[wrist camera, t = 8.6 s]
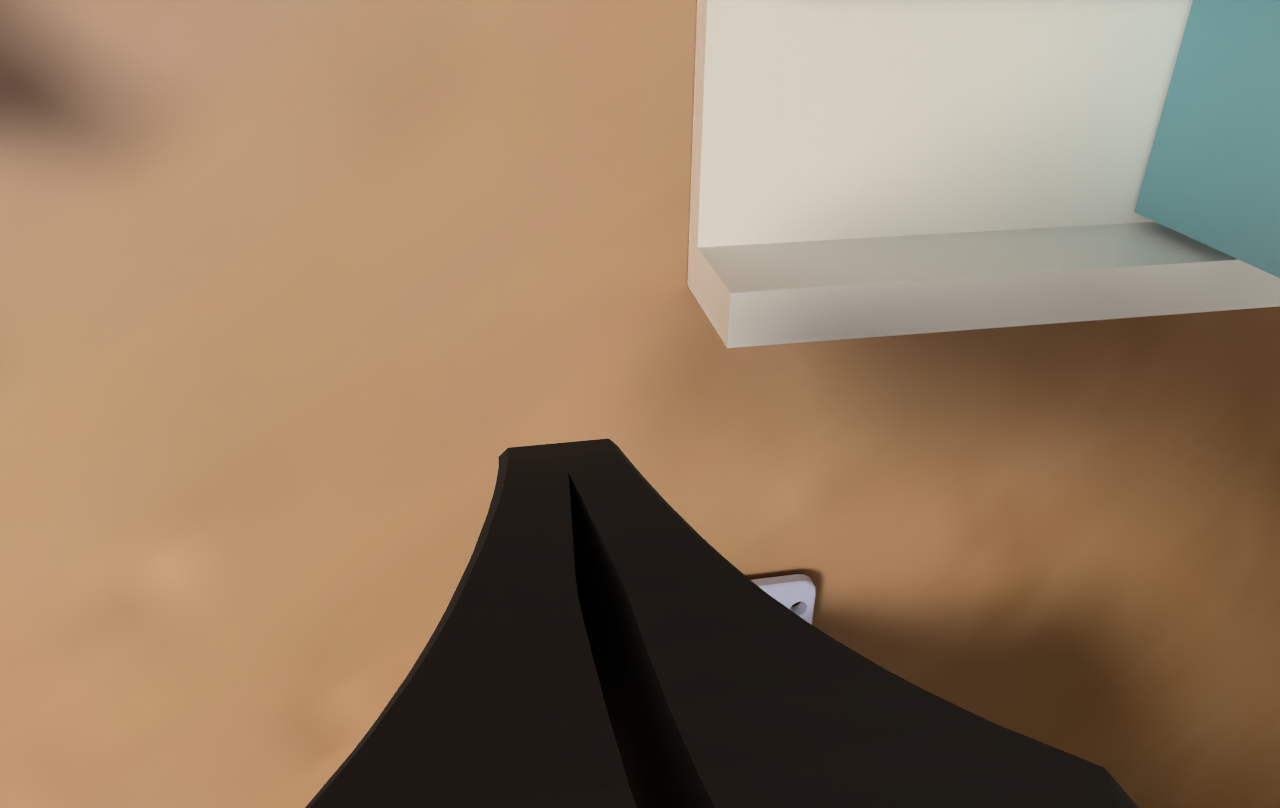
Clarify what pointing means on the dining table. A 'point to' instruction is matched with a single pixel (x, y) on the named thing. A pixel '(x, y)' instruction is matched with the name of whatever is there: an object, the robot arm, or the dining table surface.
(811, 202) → the chute
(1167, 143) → the block
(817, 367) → the dining table surface
